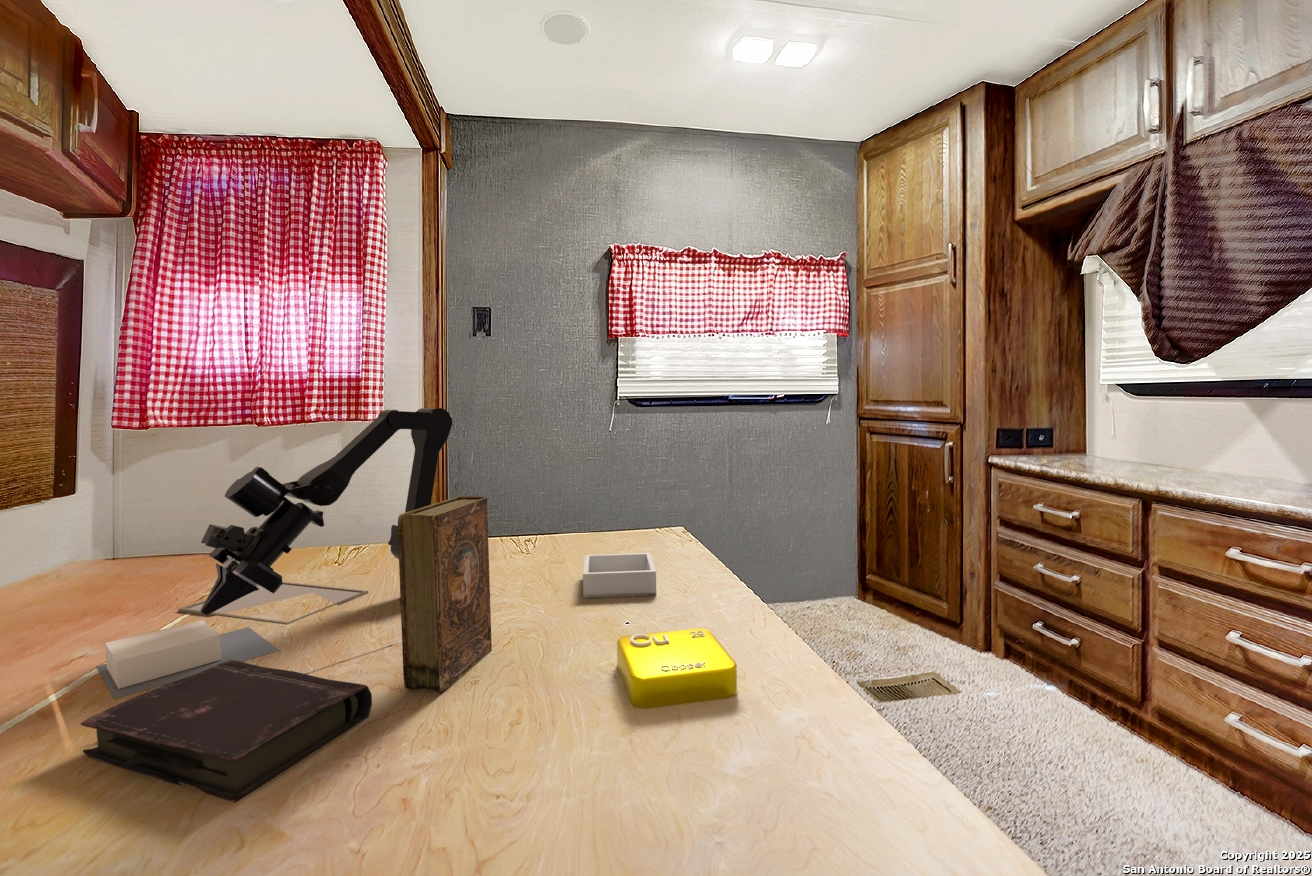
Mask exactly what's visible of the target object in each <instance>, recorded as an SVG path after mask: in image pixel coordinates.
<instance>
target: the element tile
mask: <svg viewBox="0 0 1312 876" xmlns="http://www.w3.org/2000/svg"><path fill="white" fill-rule="evenodd" d="M616 666H617V667H616V668H617V669H618V672H619V675H620V679H621V681H622V683H623V686H624V689H625V692H626V695H627V698H628V700H629V701H628V702H629V703H630V705H632V706H633V707H634V708H637V709H647V710H649V709H656V708H662V707H669V706H670V707H671V706H679V705H686V704H687V705H688V704H693V703H702V702H711V701H718V700H724V699H729V698H732V697H735V696H736V694H737V690H738V688H737V687H738V685H737V677H738V675H737V672H738V671H737V670H738V669H737V667H738V666H737V663H736V661H735V660H734V659H733V657H732V656H731V655H730V654H729V653H728V652H727V650H726V649H725V647H723V645H722V644H721V643H720V642H719V640H718V639H717V637H716V636H715V635H714V634H713V632H711V631H710V630H708V629H706V628H689V629H680V630H671V631H663V632H660V631H659V632H651V633H641V634H631V635H623V636H620V637H619V638H618V639H617V641H616Z"/></svg>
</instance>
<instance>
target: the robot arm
mask: <svg viewBox="0 0 1312 876" xmlns="http://www.w3.org/2000/svg"><path fill="white" fill-rule="evenodd" d="M452 427H453V417H452V415H451V414H450V413H449V412H448V411H447V410H446V409H444V408H442V407H422V408H419V409H417V410H416V411H403V410H402V411H401V410H399V409H385V410H382V411H381V412H379V414H378V415H377V417H376V418H375V419H374V420H373V421H371V423H369V425H367V426H366V427H365V428H364V429H363V430H361V432H359V434H357V435H356V437H354V438H353V439H352V440H351V441H350V442H349V443H348V444H347V445H346V446H344V447H343V448H342V449H341V450H340V451H339V452H338V453H337V454H336V455H335V456H333V457H332V458H330V459H329V460H327V461H324V462H323V463H320V464H319V465H316V466H315V467H313V468H312V469H310V470H309V471H306V472H305V473H304V474H303V475H301V476H300V477H299V478H298V479H297V480H295V481H290V482H285V483H281V482H280V481H278V480H277V479H276V478H274V477H273V476H272V475H271V474H270V473H269V472H268V471H267V469H264V467H261V466H255V468H253V470H251V471H249V472H247V473H245V474H244V475H243V476H241V477H240V478H238V479H236V480H235V481H234V482H233V483H232V484H230V486H229V487H228V489H227V490H226V492H225V493H224V498H226V499H227V500H229V501H230V502H232V503H233V504H235V505H236V506H238V507H239V508H241V509H242V510H243V511H246V512H247V514H249V515H251V516H252V517H254V518H258V517H261V516H262V515H263V516H264V517H267V516H268V517H267V518H266V519H265V520H264V521H263V522H262V523H261V524H260V525H259V527H256V526H253V527H250V528H249V529H248V530H247V531H245V528H244V527H242V526H237V525H234V524H230V525H229V526H227V527H225V526H220V525H216V524H211V523H209V525H208V527H207V529H206V531H205V533H204V534H203V537H202V539H201V541H200V543H201V544H204V545H205V546H206V547H209V548H213V550H212V551H211V552H210V553H209V554H208V557H210V558H212V559H214V560H215V561H217V562H218V563H217V562H216V563H215V568H216V573H217V579H216V580H215V583H214V584H213V587H212V588H211V590H210V592H209V594H208V595H207V598H206V601H205V600H204V601H205V603H204V605H203V606H202V608H201V610H200V611H201V612H202V613H203V614H205V615H209V614H210V613H212V612H214V611H216V610H218V609H220V608H222V607H224V606H226V605H228V604H229V603H231V602H233V601H235V600H237V599H239V598H241V597H243V596H245V595H247V594H250V593H252V592H254V591H258V590H259V588H257V587H256V585H257V584H258V585H260V586H262V587H263V588H265V589H266V590H268V591H270V592H271V593H273V594H274V593H275V592H276V591H277V590H278V588H279V587H280V586H281V585H282V582H283V576H282V575H281V574H279V573H277V572H276V571H274V568H273V567H271V566H273V565H274V564H275V562H276V561H278V560H279V558H280V557H281V556H282V555H283V554H289V553H290V552H291V551H292V549H293V548H292V547H290V546H291V545H292V543H293V542H294V541H295V540H296V539H297V538H298V537H299V536H300V535H301V533H303V531H304V530H305V529H306V528H307V527H308V526H309V525H310V524H312V525H314V526H318V527H320V528H322V527H324V526H325V521H324V511H323V510H319V509H318V510H317V509H316V510H313V509H312V508H311V507H309V506H307V505H306V504H305V503H308V504H312V505H314V506H319V507H323V506H324V507H327V506H330V505H333V504H334V503H336V502H337V501H338V500H339V498H340V497H341V496H342V494H343V493H344V491H345V490H346V489H347V488H348V486H349V484H350V482H351V479H352V477H353V475H354V474H355V473H356V471H357V470H359V468H360V467H362V465H364V463H366V461H368V460H369V459H370V457H372V456H373V455H374V454H375V453H376V452H377V451H378V450H379V449H380V448H381V447H383V445H385V444H386V442H387V441H388V440H390V438H392V437H393V436H394V435H395V434H396V433H398V431H399V430H410V434H411V435H410V437H411V440H412V443H413V446H414V453H413V461H412V466H411V473H410V478H409V485H408V491H407V498H406V504H405V511H404V513H406V512H410V511H413V510H416V509H419V508H422V507H426V506H429V505H432V502H433V501H432V499H433V495H434V488H435V487H434V486H435V483H436V482H435V481H436V475H437V469H438V461H439V457H440V456H439V455H440V452H441V450H442V448H443V447H444V446H445V444H446V442H447V441H448V439H449V436H450V433H451V430H452ZM285 496H286V497H285ZM287 497H289V498H294V499H298V500H300V501H303V502H304V503H303V502H297V503H294V502H292V501H291V500H289V499H288V498H287ZM387 545H388V546H390V552H391V554H392V555H393V557H394V558H396V559H397V560H399V548H398V525H396V524H392V525H391V527H390V538H389V540H388V542H387ZM219 563H220V564H221V565H220V564H219ZM205 615H204V616H205Z"/></svg>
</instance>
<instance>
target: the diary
mask: <svg viewBox="0 0 1312 876" xmlns="http://www.w3.org/2000/svg"><path fill="white" fill-rule="evenodd" d="M372 697H373V695H372V692H371V690H370V688H369V686H368V685H366V684H362V683H354V682H348V681H342V680H335V679H330V678H329V679H327V678H324V677H319V676H315V675H310V674H306V673H303V672H302V673H301V672H299V671H294V670H286V669H280V668H272V667H268V666H267V667H266V666H261V665H257V664H252V663H248V662H245V661H243V662H241V661H237V660H232V659H230V660H228V661H225V662H223V663H220V664H218V665H217V666H213V667H211V668H208V669H206V670H203V671H201V672H199V673H196V674H193V675H190V676H188V677H185V678H182V679H179V680H176V681H174V682H171V683H168V684H165V685H162V686H158V687H155V688H152V689H150V690H148V691H146V692H143V693H141V694H139V695H136V696H134V697H131V698H129V699H126V700H125V701H122V702H119V703H118V704H116V705H113V706H112V707H109V708H108V709H105V710H103V711H101V712H98V713H96V714H94V715H92V716H90V717H88V718H87V719H85V720H84V721H81V723H80V726H82V727H86V728H90V729H95V730H96V738H97V746H95V747H94V748H88V749H82V752H83V753H84V754H85V755H86V757H88V758H90V759H94V760H96V761H99V762H102V763H105V764H108V765H110V766H113V767H116V768H119V769H123V768H124V770H126V769H127V771H130V770H131V772H135V773H138V774H143V775H147V776H150V777H154V778H156V779H158V780H160V781H163V782H166V783H169V784H173V785H176V786H183V785H182V784H181V783H183V784H185V785H188V786H192V787H195V788H196V789H198V790H200V791H202V792H204V794H208V795H210V796H214V797H215V798H220V799H223V800H225V801H228V802H231V803H237V802H239V801H240V800H242V799H243V798H245V797H247V796H249V794H252V793H253V792H254V791H256V790H258V789H259V788H261V787H262V786H264V785H265V784H267V783H268V782H270V781H272V780H273V779H274V778H277V777H278V776H279V775H280V774H283V773H284V772H286V771H287V770H289V769H290V768H291V767H294V766H295V765H296V764H298V763H299V762H301V761H303V760H304V759H306V758H308V757H309V756H310V755H312V754H313V753H315V752H316V751H319V750H320V749H322V748H323V747H324V746H326V745H327V744H329V743H331V742H332V741H334V740H335V739H336V738H338V737H340V736H341V735H343V734H345V733H346V732H348V731H349V730H350V729H352V728H353V727H356V725H358V724H360V723H361V722H363V721H364V720H366V719H368V718H369V716H370V714H371V710H372V706H373V698H372Z"/></svg>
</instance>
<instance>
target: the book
mask: <svg viewBox="0 0 1312 876" xmlns="http://www.w3.org/2000/svg"><path fill="white" fill-rule="evenodd" d="M488 521H489V519H488V498H487V496H478V495H477V496H475V495H474V496H473V495H470V496H468V495H467V496H456V497H452V498H448V499H445V500H442V501H440V502H435V503H431V505H429V506H426V507H422V508H419V509H416V510H413V511H410V512H406V513H405V512H403V513H400V514H399V515H398V517H397V526H398V548H399V559H398V569H399V590H400V592H399V596H400V599H399V600H400V621H401V622H400V623H401V644H402V646H401V647H402V648H401V649H402V673H403V684H404V688H405V689H407V690H412V689H417V688H419V689H420V688H429V689H434V690H436V691H438V692H439V693H444V692H446V691H447V690H448V689H449V688H450V687H451V686H452V685H454V684H455V683H456V682H457V681H459V680H460V679H461V678H462V677H463V676H464V675H466V674H467V673H468V672H469V671H471V669H472V668H473V667H474V666H476V665H477V664H478V663H479V662H480V661H481V660H482V659H483V658H485V657H486V656H487V655H488V654H489V653H490V652H492V651H493V649H492V646H493V645H492V619H491V618H492V617H491V616H492V613H491V611H492V610H491V585H490V581H491V580H490V557H489V556H490V554H489V553H490V549H489V523H488Z"/></svg>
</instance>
